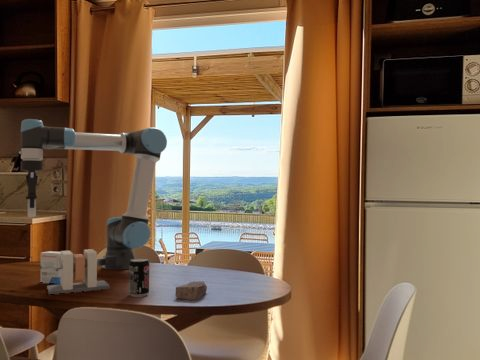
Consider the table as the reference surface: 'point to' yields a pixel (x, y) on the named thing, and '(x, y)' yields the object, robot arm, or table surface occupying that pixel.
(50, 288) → the jig
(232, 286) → the table surface
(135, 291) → the beverage can
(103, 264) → the shaft
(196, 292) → the stone
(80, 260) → the spacer
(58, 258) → the ink box
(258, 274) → the table surface
